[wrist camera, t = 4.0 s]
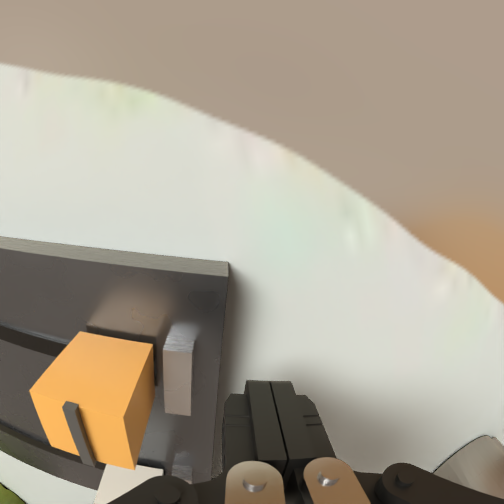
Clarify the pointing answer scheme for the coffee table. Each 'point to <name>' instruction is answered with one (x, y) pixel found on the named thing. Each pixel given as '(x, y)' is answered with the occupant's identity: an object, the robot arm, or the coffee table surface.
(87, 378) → the fader orange
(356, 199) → the coffee table surface
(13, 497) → the plant pot
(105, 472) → the fader white
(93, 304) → the board
